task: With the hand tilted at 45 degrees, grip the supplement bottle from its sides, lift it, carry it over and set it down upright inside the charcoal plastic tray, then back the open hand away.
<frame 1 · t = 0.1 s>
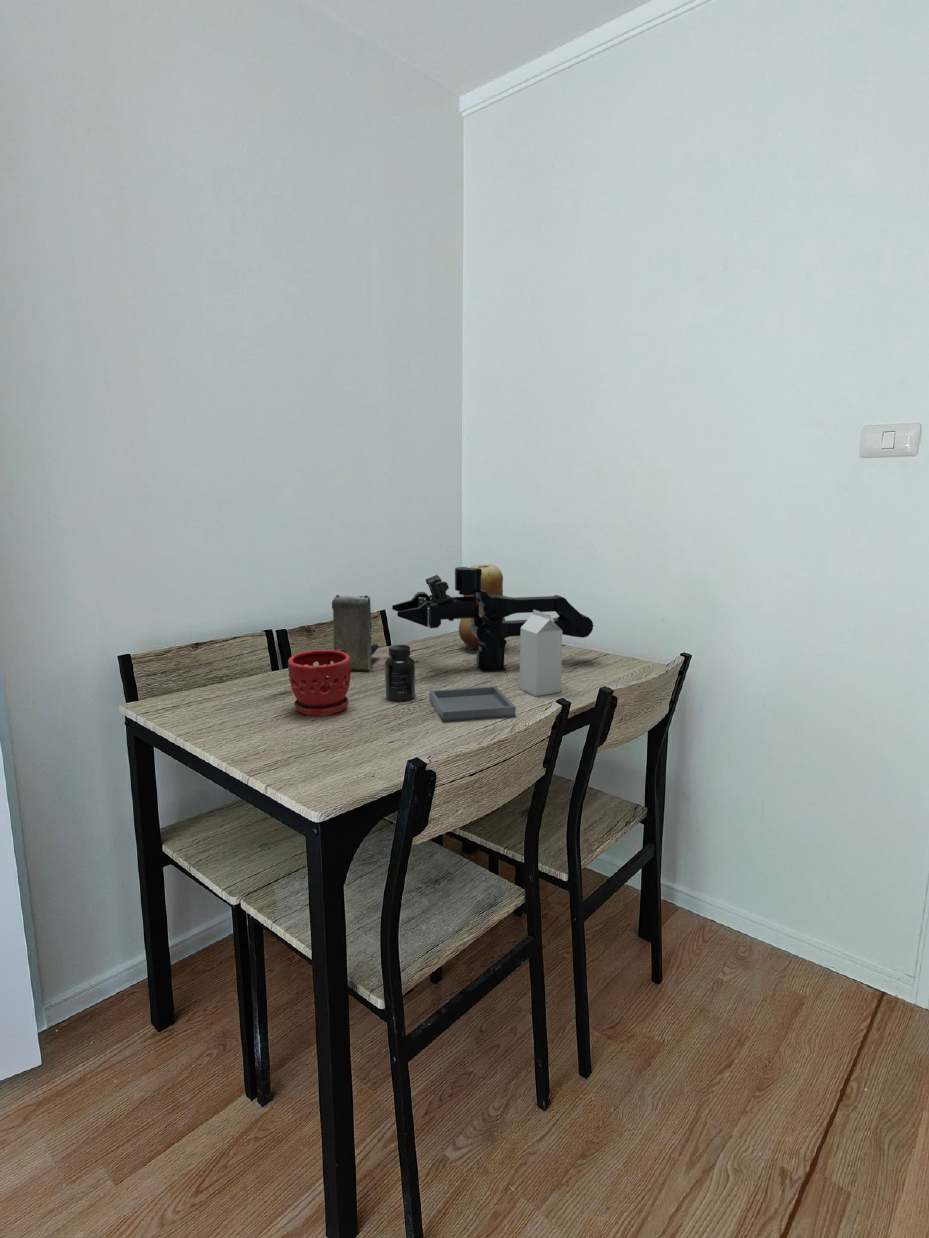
hand: (394, 610, 181), 17 cm above the table, fingers open, 9 cm apart
vintage camera: (358, 665, 194), on the table
charcoal tray: (470, 708, 158), on the table
plant pot: (321, 710, 156), on the table
butternut squash: (482, 650, 211), on the table
milk carton: (539, 691, 170), on the table
supplement bottle: (400, 698, 165), on the table
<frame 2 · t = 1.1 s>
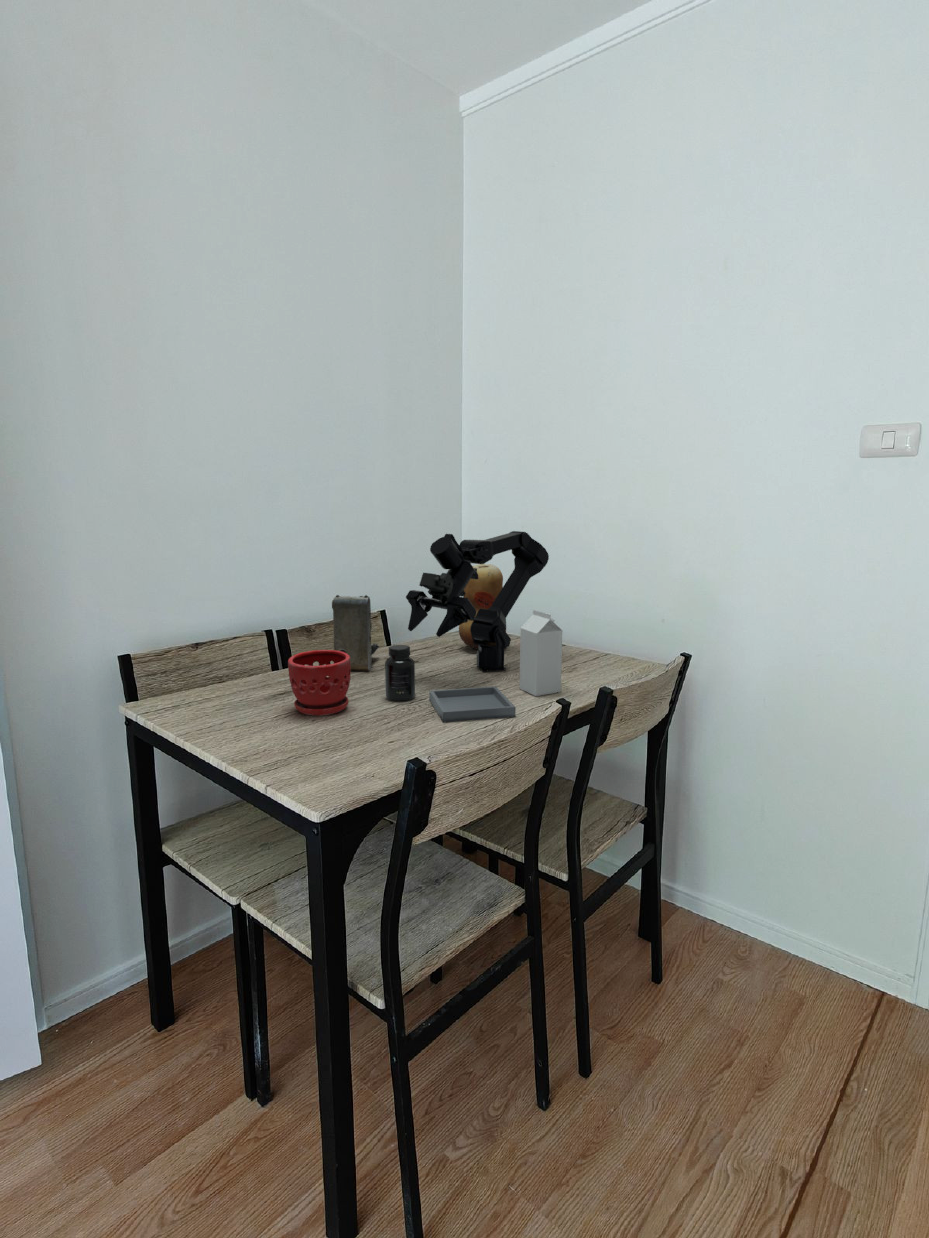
hand: (423, 632, 168), 14 cm above the table, fingers open, 9 cm apart
nothing on the table moved.
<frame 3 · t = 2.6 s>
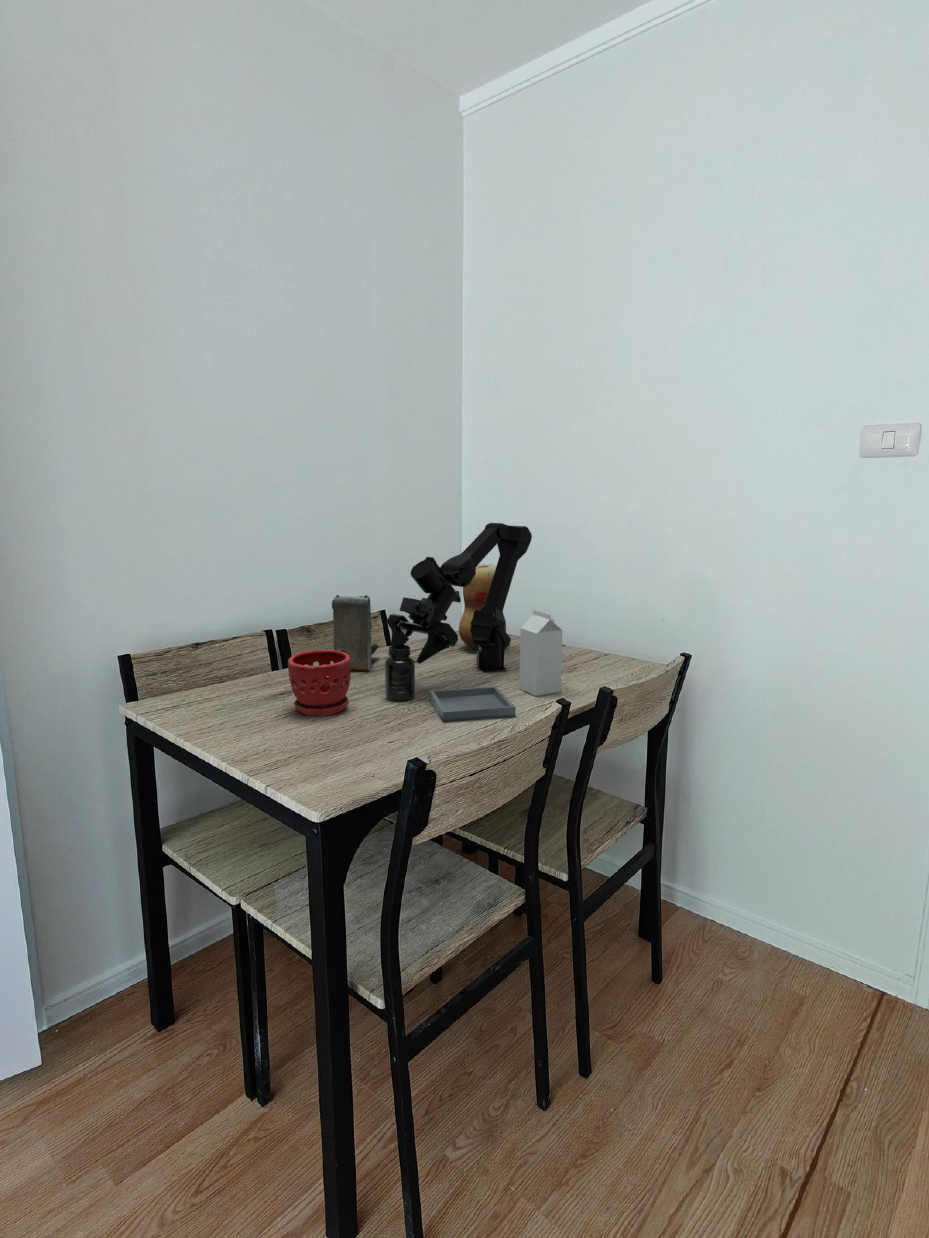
hand: (403, 659, 164), 9 cm above the table, fingers open, 9 cm apart
nothing on the table moved.
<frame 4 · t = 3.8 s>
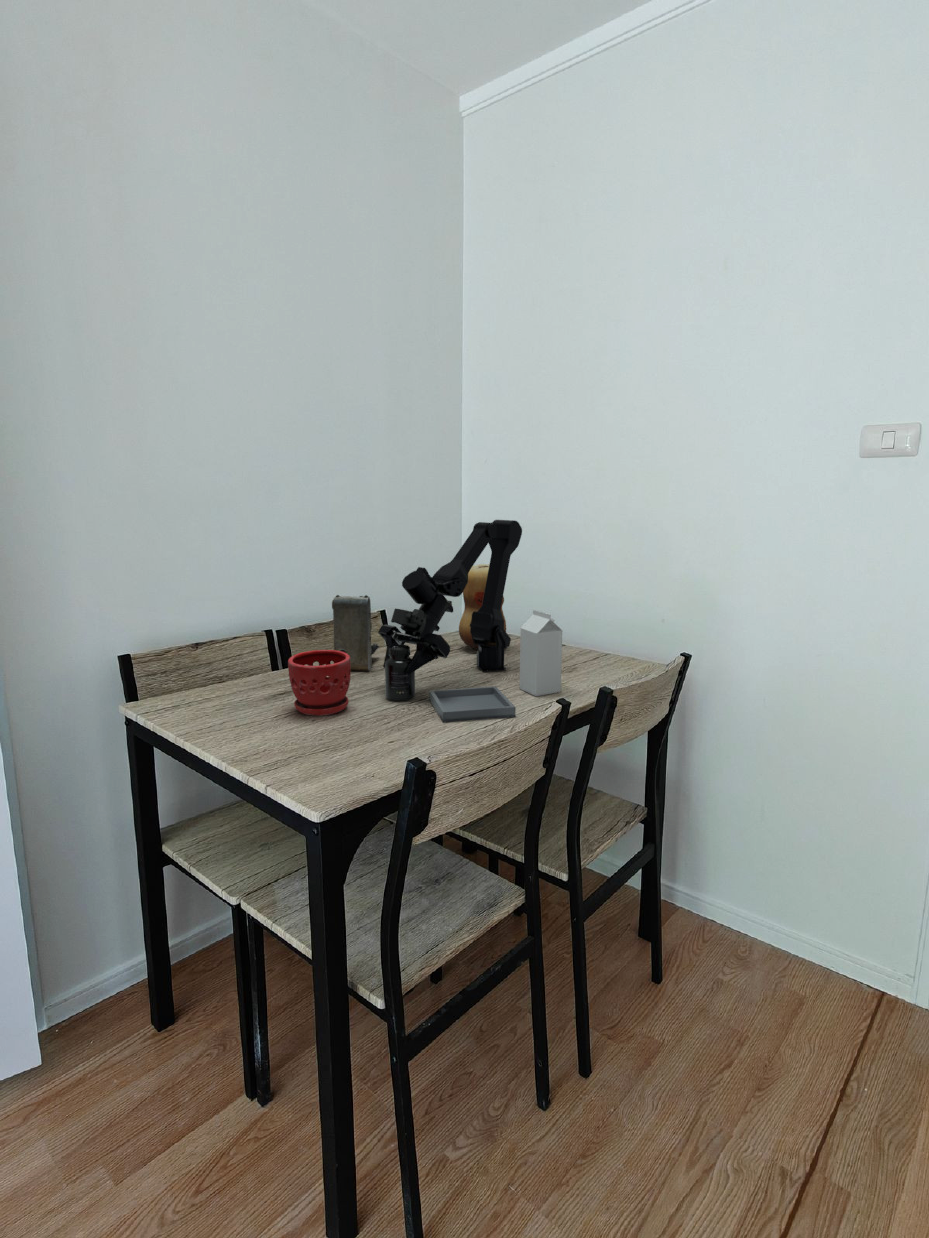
hand: (395, 670, 163), 7 cm above the table, fingers closed on supplement bottle, 7 cm apart
supplement bottle: (400, 698, 165), on the table, touching gripper
everything else where it was.
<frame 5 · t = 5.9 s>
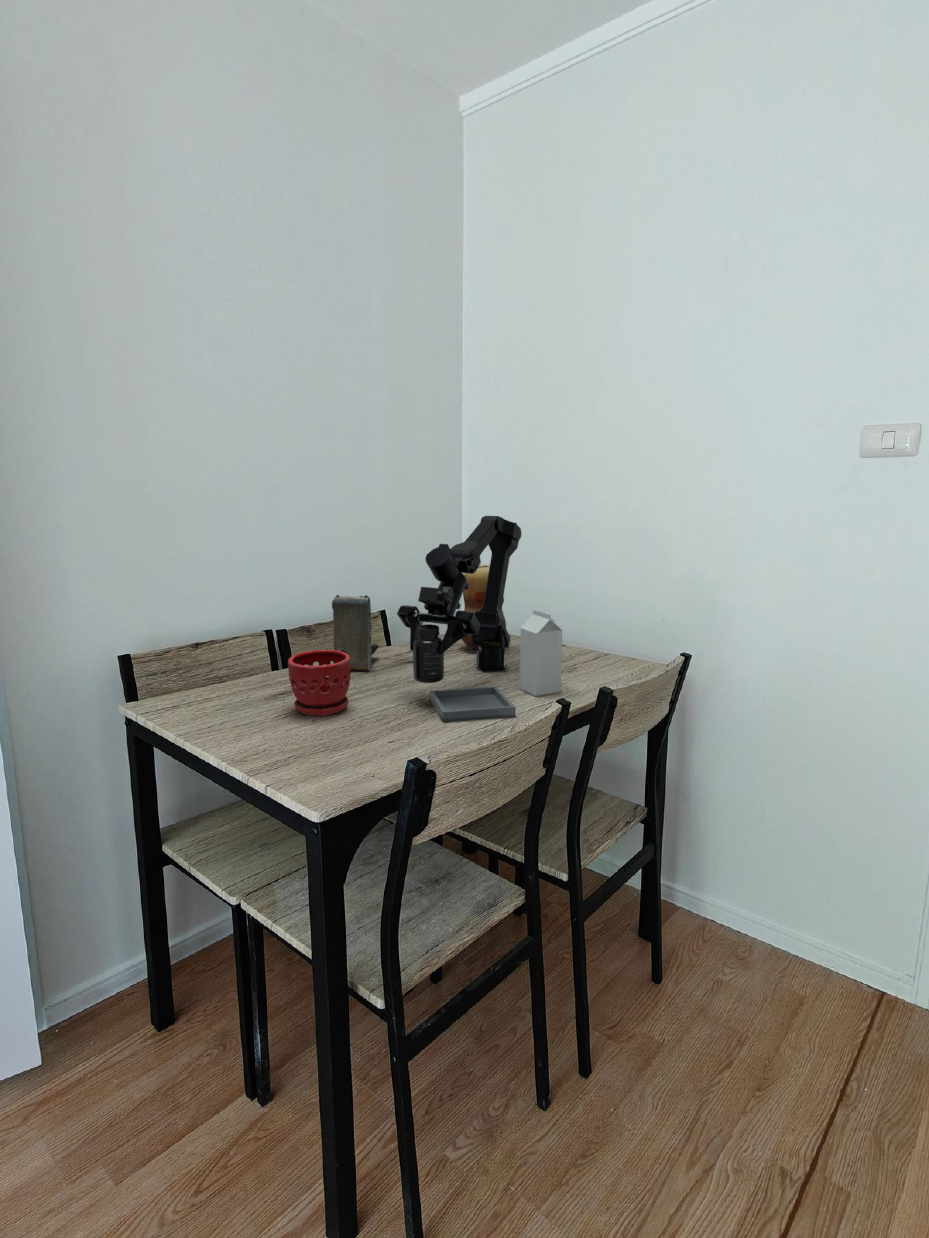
hand: (425, 651, 157), 12 cm above the table, fingers closed on supplement bottle, 7 cm apart
supplement bottle: (428, 679, 160), point 5 cm above the table, touching gripper
everything else where it was.
when the fingers open (8 cm above the table, at t = 8.0 s): supplement bottle drops 1 cm, resting on charcoal tray.
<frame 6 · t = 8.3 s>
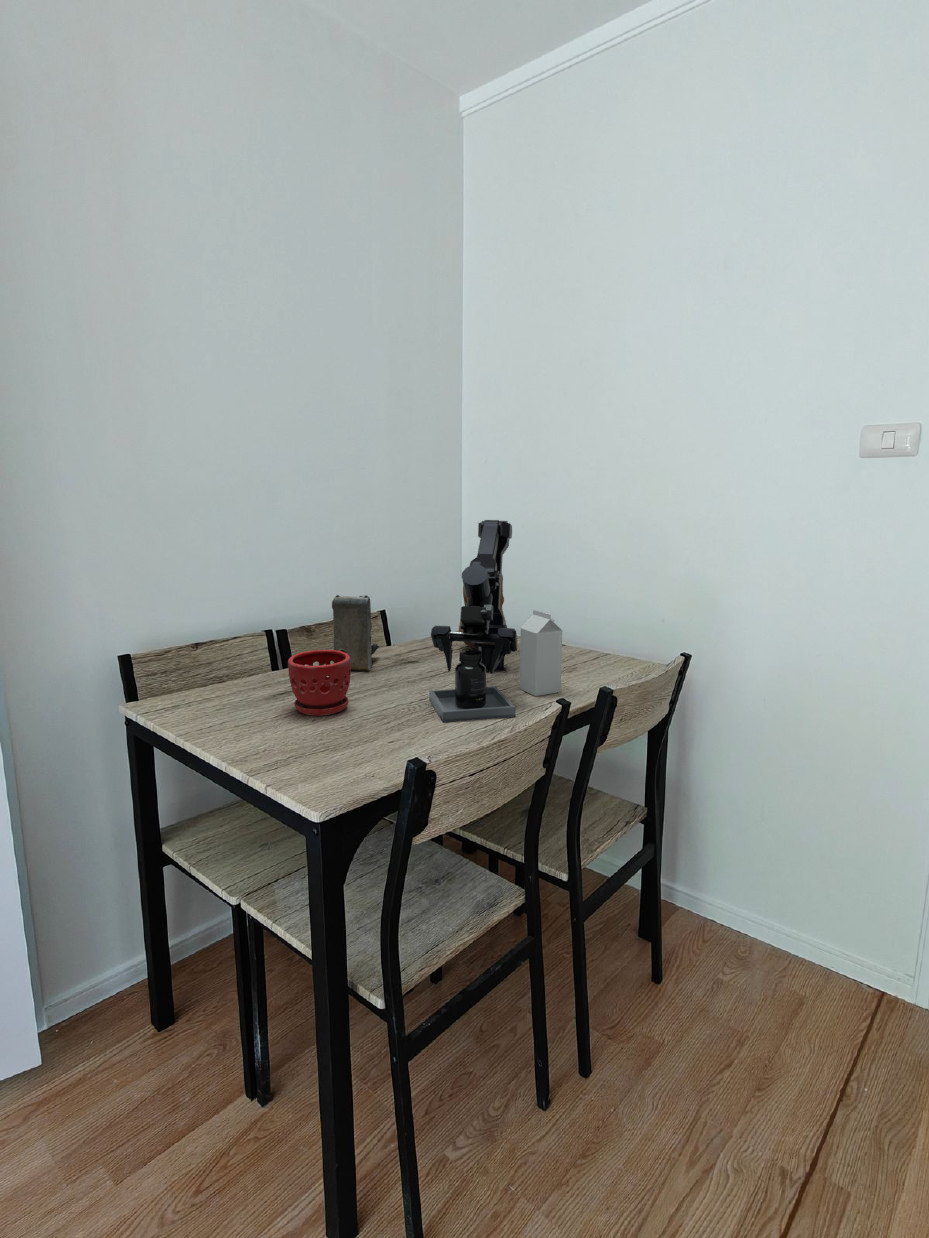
hand: (469, 671, 155), 9 cm above the table, fingers open, 9 cm apart
supplement bottle: (470, 705, 158), resting on charcoal tray
everything else where it was.
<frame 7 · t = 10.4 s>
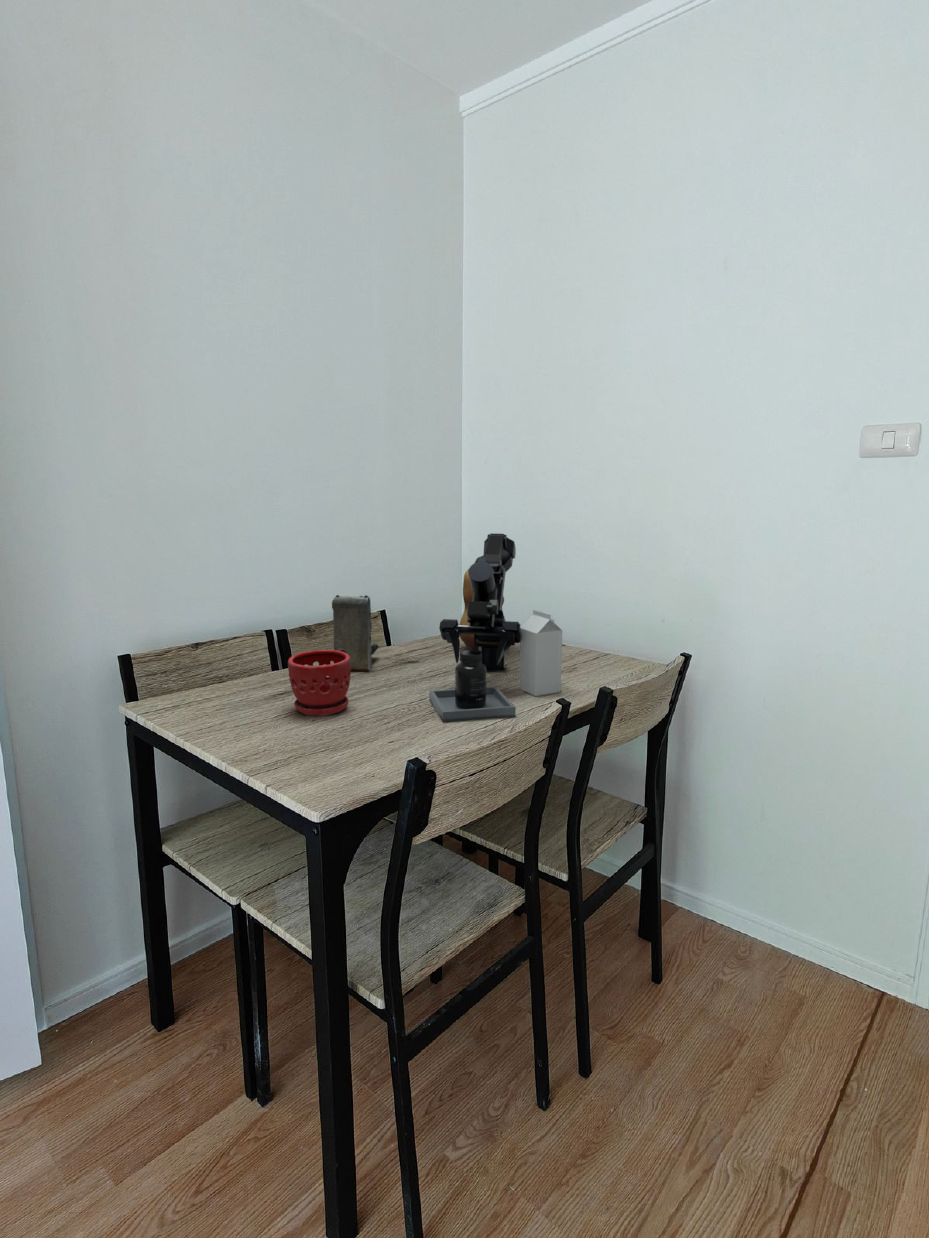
hand: (476, 663, 164), 8 cm above the table, fingers open, 9 cm apart
butternut squash: (482, 650, 211), on the table, touching arm
everything else where it was.
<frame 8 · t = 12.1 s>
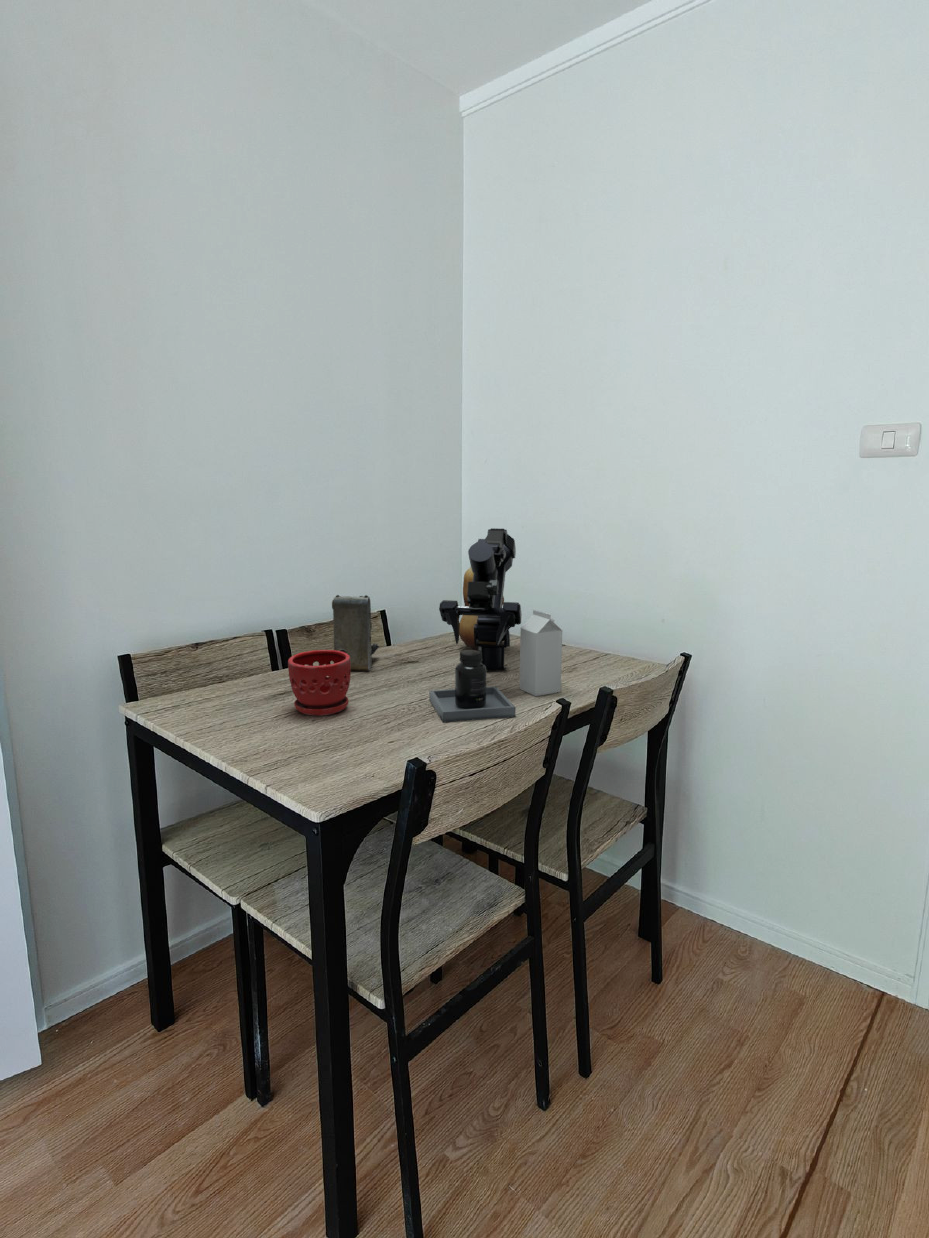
hand: (476, 643, 163), 13 cm above the table, fingers open, 9 cm apart
nothing on the table moved.
at the end: supplement bottle inside the target area on the charcoal tray (0.2 cm from its centre), point 0.4 cm above the charcoal tray's base; supplement bottle tilted 0°; the gripper is holding nothing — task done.
